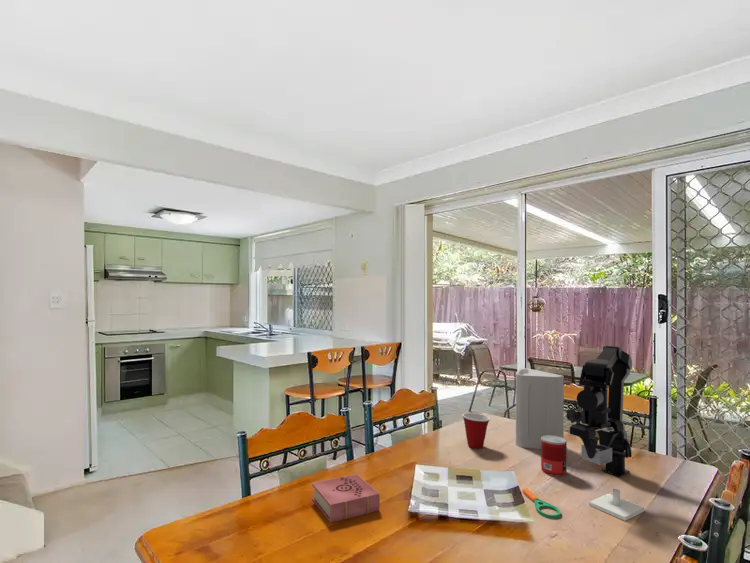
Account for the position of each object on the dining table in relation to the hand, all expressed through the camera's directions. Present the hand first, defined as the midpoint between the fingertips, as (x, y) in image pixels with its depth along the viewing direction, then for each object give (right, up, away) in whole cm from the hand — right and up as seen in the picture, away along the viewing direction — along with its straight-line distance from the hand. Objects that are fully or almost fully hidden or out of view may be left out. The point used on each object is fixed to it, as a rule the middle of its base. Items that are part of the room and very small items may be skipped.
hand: (596, 456), depth 131 cm
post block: (+1, -11, -9) cm, 14 cm away
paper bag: (-4, -13, +44) cm, 46 cm away
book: (-75, -11, -9) cm, 77 cm away
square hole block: (0, -1, 0) cm, 1 cm away
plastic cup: (-27, -12, +40) cm, 49 cm away
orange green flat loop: (-20, -12, -7) cm, 24 cm away
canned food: (-6, -12, +16) cm, 21 cm away
